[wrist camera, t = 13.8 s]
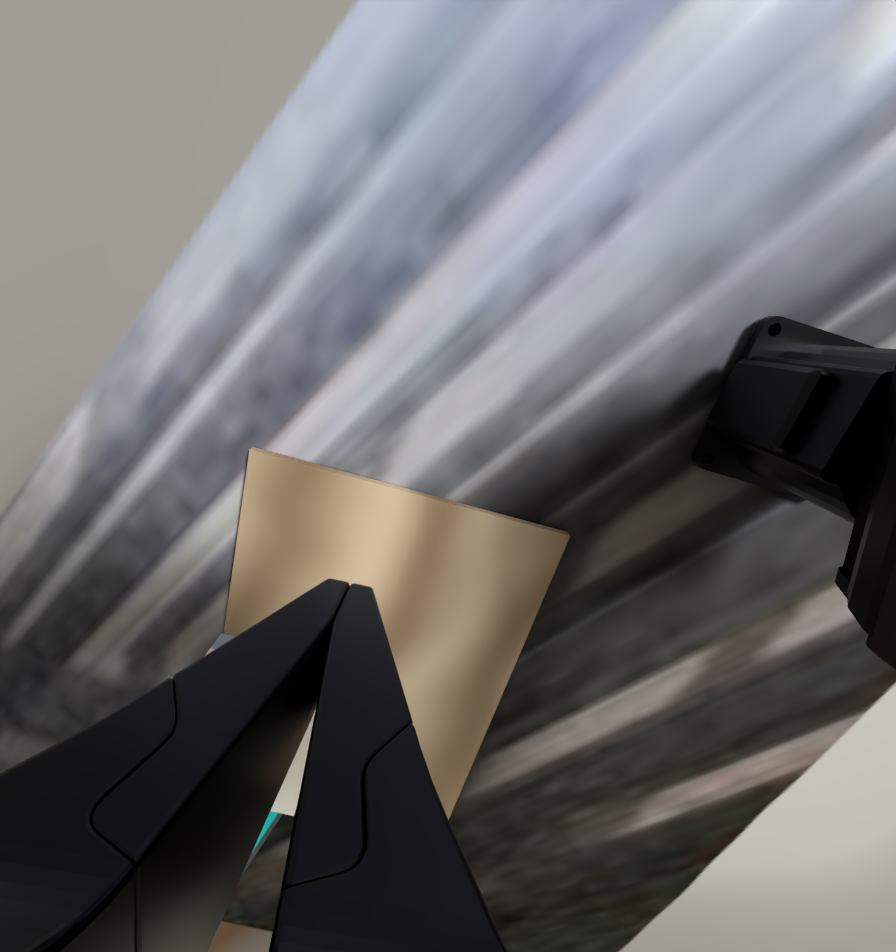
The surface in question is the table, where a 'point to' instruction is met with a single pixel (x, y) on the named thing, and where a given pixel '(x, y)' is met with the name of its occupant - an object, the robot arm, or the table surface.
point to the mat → (401, 587)
